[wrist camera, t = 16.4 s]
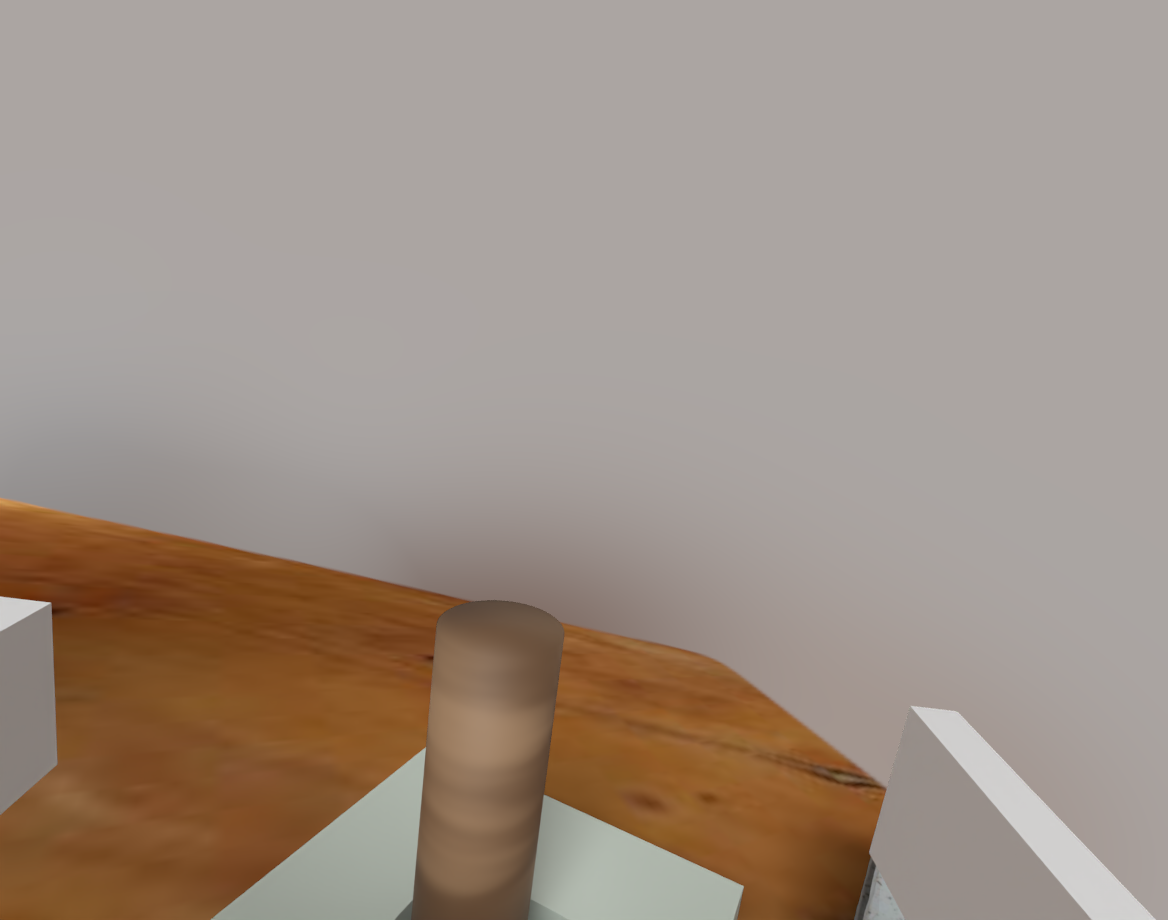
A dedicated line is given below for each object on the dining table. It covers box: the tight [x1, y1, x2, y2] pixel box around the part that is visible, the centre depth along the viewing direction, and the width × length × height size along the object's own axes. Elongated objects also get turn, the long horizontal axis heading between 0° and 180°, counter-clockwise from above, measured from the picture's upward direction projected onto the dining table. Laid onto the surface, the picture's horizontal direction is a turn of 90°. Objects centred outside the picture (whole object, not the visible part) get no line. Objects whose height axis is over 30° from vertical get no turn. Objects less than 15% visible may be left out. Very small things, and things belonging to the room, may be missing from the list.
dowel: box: [411, 600, 564, 920], centre depth 22 cm, size 4×4×16 cm
